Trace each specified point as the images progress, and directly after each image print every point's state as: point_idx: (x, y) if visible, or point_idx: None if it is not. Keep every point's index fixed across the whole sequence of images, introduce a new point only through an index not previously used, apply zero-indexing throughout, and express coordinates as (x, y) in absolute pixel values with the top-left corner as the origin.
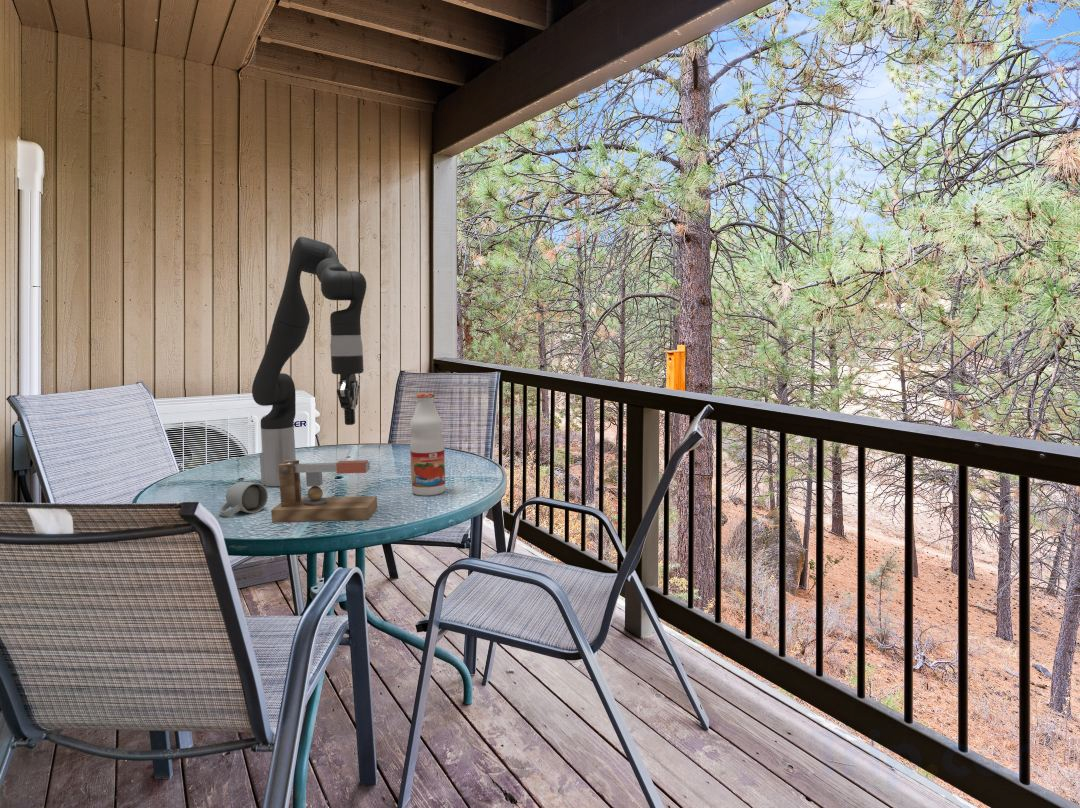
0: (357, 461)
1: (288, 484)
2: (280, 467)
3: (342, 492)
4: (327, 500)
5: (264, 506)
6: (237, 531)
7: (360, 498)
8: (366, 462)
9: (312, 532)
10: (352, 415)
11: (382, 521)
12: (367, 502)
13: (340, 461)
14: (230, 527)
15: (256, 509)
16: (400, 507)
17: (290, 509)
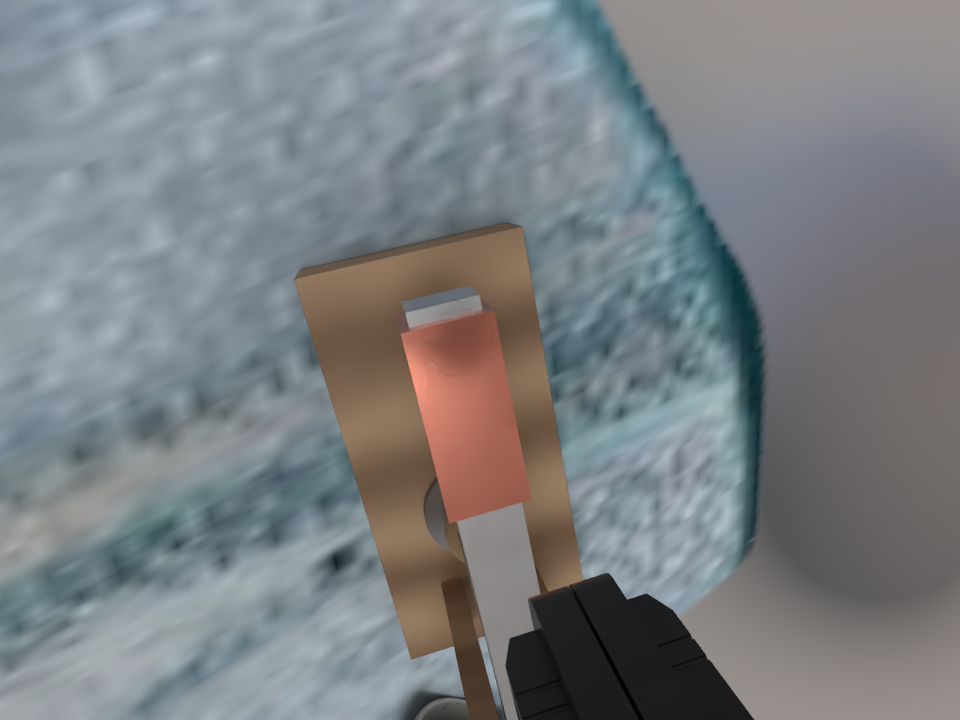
0: (458, 387)
1: None
2: None
3: (53, 582)
4: (418, 480)
5: (427, 704)
6: (669, 606)
7: (358, 344)
8: (442, 320)
9: (679, 364)
10: (670, 678)
11: (526, 140)
12: (431, 270)
13: (471, 504)
14: None
15: (438, 715)
16: (272, 143)
17: (575, 542)
